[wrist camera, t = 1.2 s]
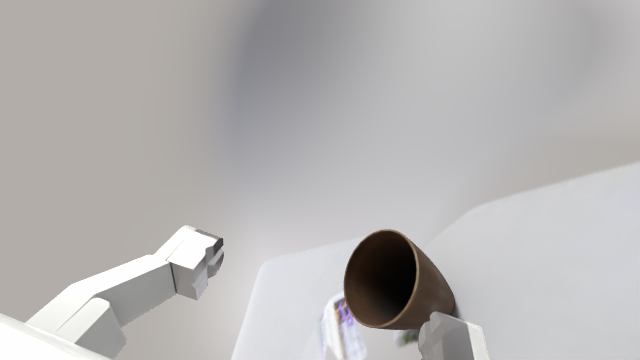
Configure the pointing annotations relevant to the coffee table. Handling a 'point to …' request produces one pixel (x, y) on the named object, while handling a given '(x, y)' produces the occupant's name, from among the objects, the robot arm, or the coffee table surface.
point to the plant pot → (394, 283)
